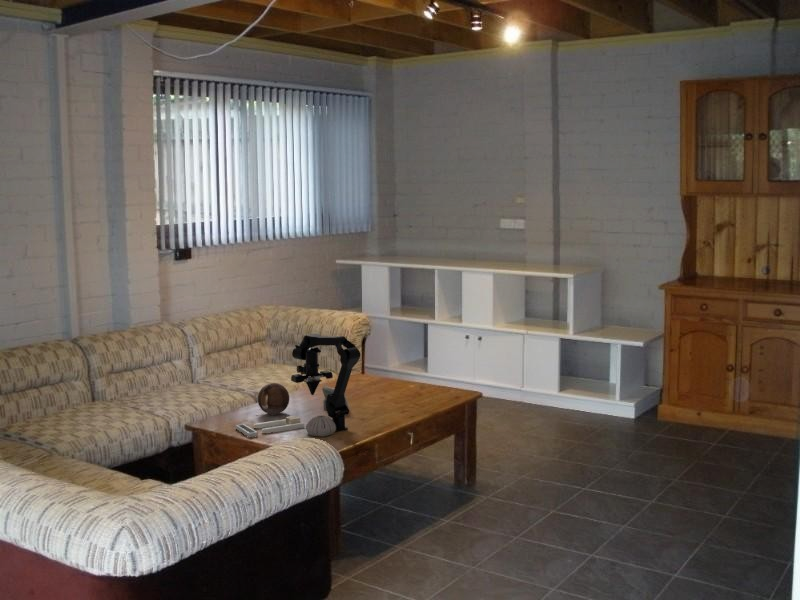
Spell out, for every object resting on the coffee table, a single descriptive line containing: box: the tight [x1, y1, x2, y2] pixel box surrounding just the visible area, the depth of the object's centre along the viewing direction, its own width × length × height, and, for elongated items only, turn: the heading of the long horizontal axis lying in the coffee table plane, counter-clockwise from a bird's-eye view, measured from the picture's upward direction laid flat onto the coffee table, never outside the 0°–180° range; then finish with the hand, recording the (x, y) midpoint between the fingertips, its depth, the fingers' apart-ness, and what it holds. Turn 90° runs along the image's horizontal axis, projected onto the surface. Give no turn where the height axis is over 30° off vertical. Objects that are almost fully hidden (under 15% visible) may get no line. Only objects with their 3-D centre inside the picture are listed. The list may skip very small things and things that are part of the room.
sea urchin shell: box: [305, 415, 337, 438], centre depth 397 cm, size 13×14×8 cm
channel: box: [252, 418, 305, 434], centre depth 407 cm, size 11×20×2 cm, turn 121°
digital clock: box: [321, 386, 350, 410], centre depth 439 cm, size 16×9×11 cm, turn 29°
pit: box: [235, 423, 259, 438], centre depth 399 cm, size 16×4×2 cm, turn 31°
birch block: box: [285, 415, 301, 425], centre depth 410 cm, size 5×5×4 cm
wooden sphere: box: [257, 382, 290, 416], centre depth 430 cm, size 15×15×15 cm
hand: (312, 394), depth 414 cm, fingers closed
